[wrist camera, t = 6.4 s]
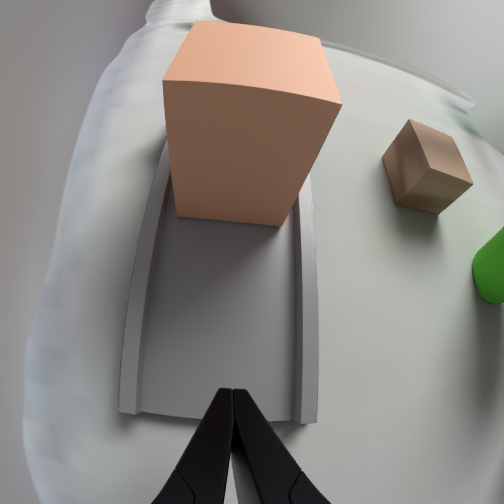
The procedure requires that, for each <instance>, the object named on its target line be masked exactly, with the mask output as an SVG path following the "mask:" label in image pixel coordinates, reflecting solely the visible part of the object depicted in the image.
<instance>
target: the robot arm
mask: <svg viewBox="0 0 504 504" xmlns="http://www.w3.org/2000/svg"><path fill="white" fill-rule="evenodd" d="M230 454H231V461H232V468H233V474H234V480H235V487H236V493H237V498H238V504H331V503H330V502H329V501H328V500H327V499H326V498H325V497H324V496H323V495H322V494H321V493H320V492H319V491H318V489H317V488H316V487H315V486H314V485H313V483H312V482H311V481H310V480H309V478H308V477H307V476H306V474H305V473H304V472H303V471H301V468H300V467H299V465H298V464H297V462H296V461H295V460H294V458H293V457H292V456H291V454H290V453H289V451H288V450H287V449H286V447H285V446H284V444H283V443H282V442H281V440H280V439H279V437H278V436H277V434H276V433H275V431H274V430H273V428H272V427H271V426H270V424H269V423H268V421H267V420H266V418H265V417H264V415H263V414H262V412H261V411H260V409H259V407H258V406H257V404H256V403H255V401H254V400H253V398H252V397H251V395H250V393H249V392H248V391H247V390H246V389H240V388H235V389H233V390H232V389H231V388H222V387H221V388H219V389H218V390H217V392H216V394H215V396H214V398H213V400H212V402H211V403H210V405H209V407H208V409H207V411H206V413H205V415H204V416H203V418H202V420H201V422H200V424H199V426H198V427H197V429H196V431H195V433H194V435H193V437H192V438H191V440H190V442H189V444H188V446H187V447H186V449H185V451H184V453H183V455H182V456H181V458H180V460H179V462H178V463H177V465H176V467H175V469H174V470H173V472H172V474H171V475H170V477H169V479H168V480H167V482H166V484H165V485H164V487H163V488H162V490H161V491H160V493H159V494H158V495H157V497H156V498H155V499H154V500H153V502H152V503H151V504H224V497H225V490H226V483H227V476H228V469H229V461H230Z"/></svg>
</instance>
